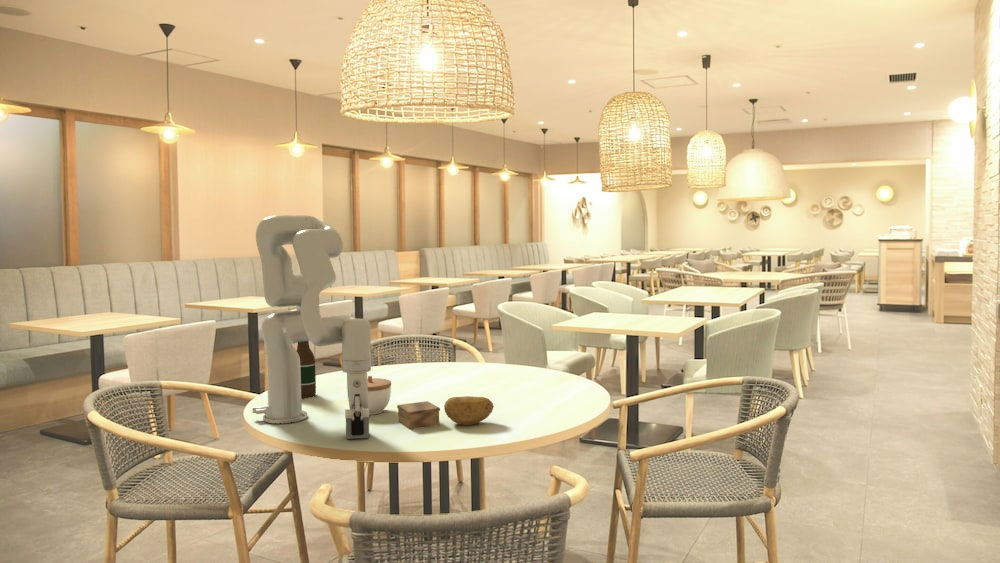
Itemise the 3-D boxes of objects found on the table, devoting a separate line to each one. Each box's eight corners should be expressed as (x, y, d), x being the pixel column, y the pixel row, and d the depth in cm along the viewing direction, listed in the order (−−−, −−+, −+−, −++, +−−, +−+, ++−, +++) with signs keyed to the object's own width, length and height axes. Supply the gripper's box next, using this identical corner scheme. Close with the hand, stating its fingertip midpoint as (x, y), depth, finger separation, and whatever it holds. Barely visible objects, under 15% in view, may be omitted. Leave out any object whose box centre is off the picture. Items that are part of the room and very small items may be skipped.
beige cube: (345, 439, 194) (345, 415, 193) (345, 432, 200) (345, 409, 199) (369, 437, 195) (369, 414, 194) (368, 431, 201) (368, 408, 200)
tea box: (408, 430, 204) (408, 412, 204) (397, 422, 212) (397, 405, 212) (440, 426, 208) (439, 407, 208) (427, 418, 217) (427, 401, 216)
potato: (496, 427, 205) (495, 399, 205) (445, 429, 203) (445, 401, 203) (491, 418, 215) (490, 391, 214) (443, 420, 213) (442, 393, 212)
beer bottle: (299, 393, 251) (297, 323, 249) (320, 393, 249) (318, 323, 248) (288, 398, 243) (286, 326, 242) (310, 399, 242) (308, 326, 240)
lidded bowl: (400, 411, 224) (399, 375, 223) (365, 419, 215) (364, 382, 214) (375, 404, 233) (374, 370, 232) (341, 412, 224) (340, 376, 223)
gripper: (371, 371, 188) (372, 440, 190) (369, 358, 205) (370, 421, 206) (342, 372, 187) (343, 441, 188) (342, 359, 203) (343, 423, 205)
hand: (357, 430), depth 197 cm, fingers closed on beige cube, 6 cm apart
